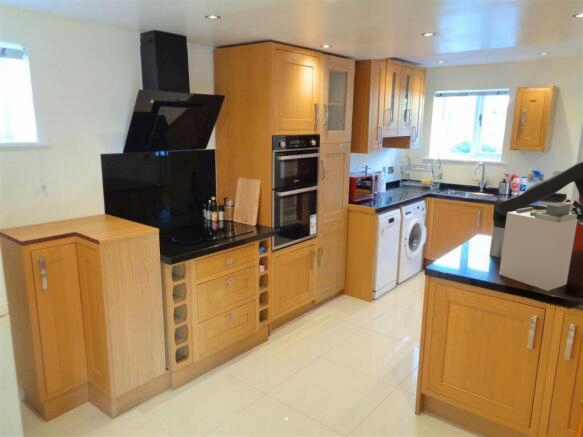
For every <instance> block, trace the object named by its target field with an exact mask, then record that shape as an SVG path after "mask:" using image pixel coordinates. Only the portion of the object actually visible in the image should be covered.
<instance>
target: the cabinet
mask: <svg viewBox="0 0 583 437" xmlns="http://www.w3.org/2000/svg"><path fill="white" fill-rule="evenodd" d="M546 210H547V209H541V210H534V207H532V206H529V207H528V206H527V207H524V208H522V209H517V211H513V212H507V218H506V226H505V233H504V241H503V249H502V256H501V258H500V263H499V264H500V265H499V274H498V275H500V276H503V277H504V278H508V279H511V280H514V281H516V282H517V281H518V282H519V283H523V284H527V285H529V286H532V287H534V286H535V288H537V287H538V288H537V289H539V290H540V289H541V290H543V291H547V292H549V291H551V290H555V289H557V288H560V287H562V286H565V285H567V283H568V276H569V271H570V265H571V259H572V254H573V253H572V252H573V248H574V242H575V235H576V232H577V231H576V230H577V225H578V221H577V219H576V218H577V214H573V215H572V214H569V215H566V216H561V217H555V216H550V215H546Z"/></svg>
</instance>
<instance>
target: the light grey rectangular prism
mask: <svg viewBox="0 0 583 437" xmlns="http://www.w3.org/2000/svg"><path fill="white" fill-rule="evenodd" d="M570 201H571V202H566V201H565V202H560V201H559V202H554V203H548V204H547V205H546V209H545V210H546V215H550V216H555V217H561V216H568V215H570V209H572V208H576V207H575V206H574V205H573V202H574V200H570ZM576 201H577V202H578V203H580V204H581V201H578V200H576Z"/></svg>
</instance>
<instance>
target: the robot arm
mask: <svg viewBox="0 0 583 437" xmlns="http://www.w3.org/2000/svg"><path fill="white" fill-rule="evenodd" d="M571 183H574V184H575V187H576V189H577V193H578V194H579V199H580V203H578V202H579V201H578V200H573V201H574V202H573V205H574V206H575V207H576V208H572V209H570V210H569V212H571V215H573V214H577V218H576V219H577V223H579V224H581V225H582V226H583V161H579V162H577V163H574V165H572V166H570V167H568V168H566V169H565V170H563V171H561V172H559V173H557V174H556V173H555V174H554V175H551V176H549V177H547V178H544V179H542V180H540V181H538V182H535V183H534V184H532V185H531V186H530V187H528V189H526V190H525V191H523V192H522V193H521V194H519V195H516V196H515V197H512V198H508V197H499V198H498V199H497V200H496V201H495V203H494V206H493V214H492V221H493V222H492V223H493V225H492V235H491V239H490V240H491V241H490V248H489V256H491V257H494V258H495V257H496V258H500V259H501V256H502V249H503V241H504V233H505V226H506V218H507V212H513V211H517V209H522V208H527V207H528V206H530V205H533V204H535V203H537V202H540V201H541V200H544V199H546V198H548V197H551V196H553V195H554V194H556V193H558V192H560V190H563V188H565V187H566V186H568V185H570V184H571ZM571 201H572V200H570V199H566V201H565V203H566V202H571ZM577 201H578V202H577Z"/></svg>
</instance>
